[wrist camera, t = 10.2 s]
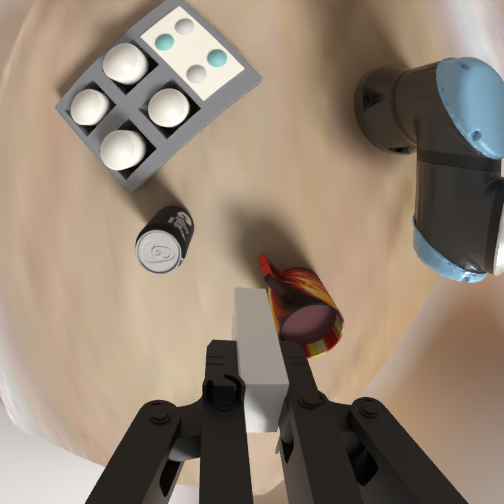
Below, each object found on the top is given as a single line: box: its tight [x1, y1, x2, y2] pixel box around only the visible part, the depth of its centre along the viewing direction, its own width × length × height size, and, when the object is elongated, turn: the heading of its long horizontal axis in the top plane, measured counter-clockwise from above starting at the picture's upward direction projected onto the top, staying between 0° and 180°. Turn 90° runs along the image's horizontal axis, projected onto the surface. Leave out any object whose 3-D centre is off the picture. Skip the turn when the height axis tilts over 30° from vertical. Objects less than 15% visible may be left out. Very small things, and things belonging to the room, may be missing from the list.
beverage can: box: [135, 206, 194, 275], centre depth 41 cm, size 7×7×12 cm
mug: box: [259, 254, 344, 358], centre depth 46 cm, size 10×14×12 cm
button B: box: [100, 130, 147, 170], centre depth 36 cm, size 5×5×5 cm
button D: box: [71, 89, 115, 126], centre depth 35 cm, size 5×5×5 cm
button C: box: [103, 43, 150, 85], centre depth 32 cm, size 5×5×5 cm
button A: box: [148, 89, 191, 128], centre depth 37 cm, size 5×5×5 cm
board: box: [54, 0, 262, 194], centre depth 36 cm, size 24×19×5 cm
